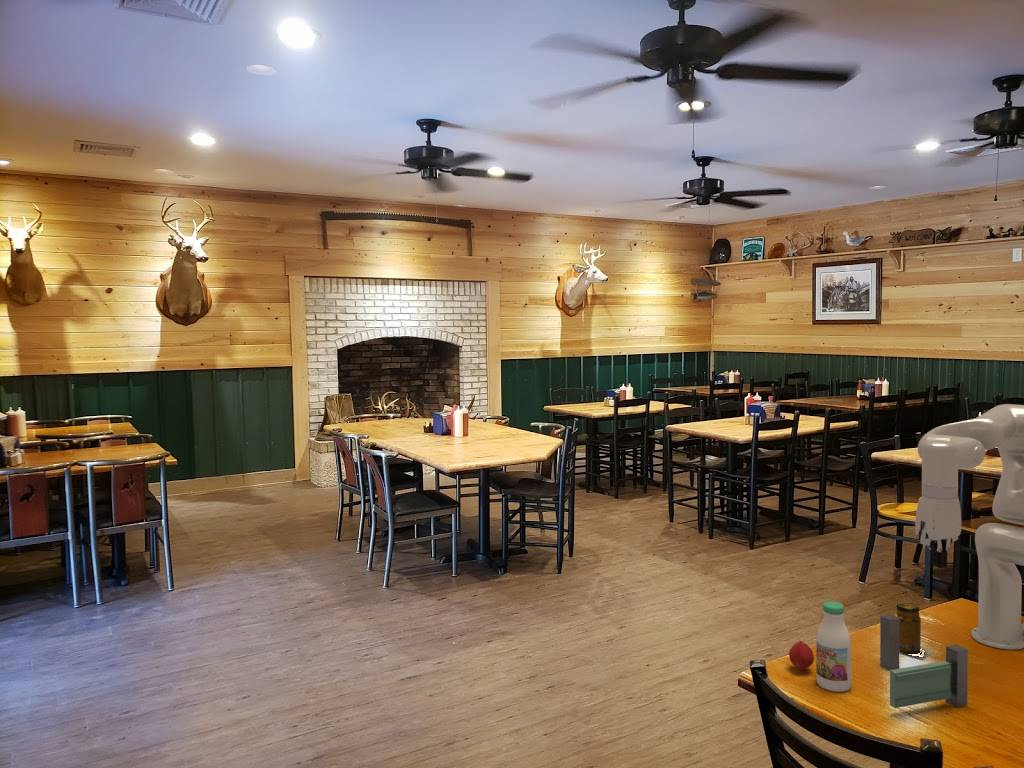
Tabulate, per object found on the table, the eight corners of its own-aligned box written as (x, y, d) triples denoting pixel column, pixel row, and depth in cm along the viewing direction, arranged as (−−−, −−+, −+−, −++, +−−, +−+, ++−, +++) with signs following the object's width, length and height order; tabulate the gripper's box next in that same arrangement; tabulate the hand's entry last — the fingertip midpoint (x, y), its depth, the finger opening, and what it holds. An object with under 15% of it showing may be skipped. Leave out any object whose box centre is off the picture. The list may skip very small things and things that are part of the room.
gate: (944, 694, 167) (944, 660, 166) (951, 699, 165) (952, 664, 164) (889, 704, 163) (890, 670, 163) (896, 709, 162) (896, 674, 161)
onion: (785, 665, 188) (784, 635, 187) (806, 664, 188) (806, 633, 188) (795, 676, 182) (795, 645, 181) (818, 674, 182) (818, 643, 182)
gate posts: (889, 663, 187) (889, 613, 186) (967, 705, 166) (967, 649, 165) (880, 665, 186) (880, 615, 185) (957, 707, 165) (957, 651, 164)
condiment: (900, 641, 199) (900, 598, 198) (933, 651, 192) (934, 607, 191) (888, 650, 194) (888, 606, 193) (922, 660, 188) (922, 615, 187)
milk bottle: (824, 674, 183) (823, 596, 181) (856, 684, 177) (856, 603, 175) (811, 685, 177) (810, 605, 176) (843, 696, 172) (843, 613, 170)
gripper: (949, 485, 183) (949, 557, 184) (902, 492, 178) (902, 565, 180) (977, 491, 176) (976, 566, 177) (928, 498, 171) (928, 575, 173)
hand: (939, 566), depth 178 cm, fingers closed
